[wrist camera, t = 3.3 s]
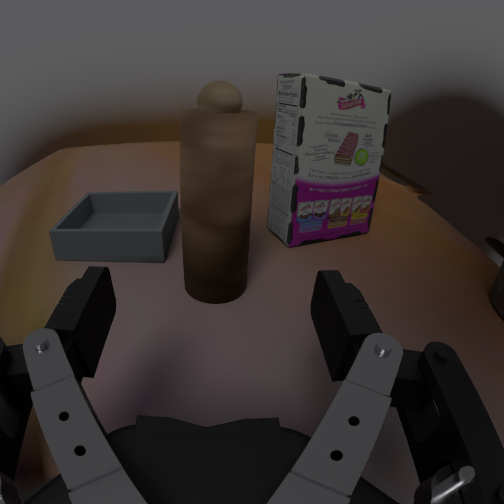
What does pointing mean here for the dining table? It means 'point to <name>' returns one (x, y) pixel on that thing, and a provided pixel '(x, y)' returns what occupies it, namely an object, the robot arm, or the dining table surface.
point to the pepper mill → (216, 192)
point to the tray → (117, 227)
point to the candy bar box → (325, 157)
